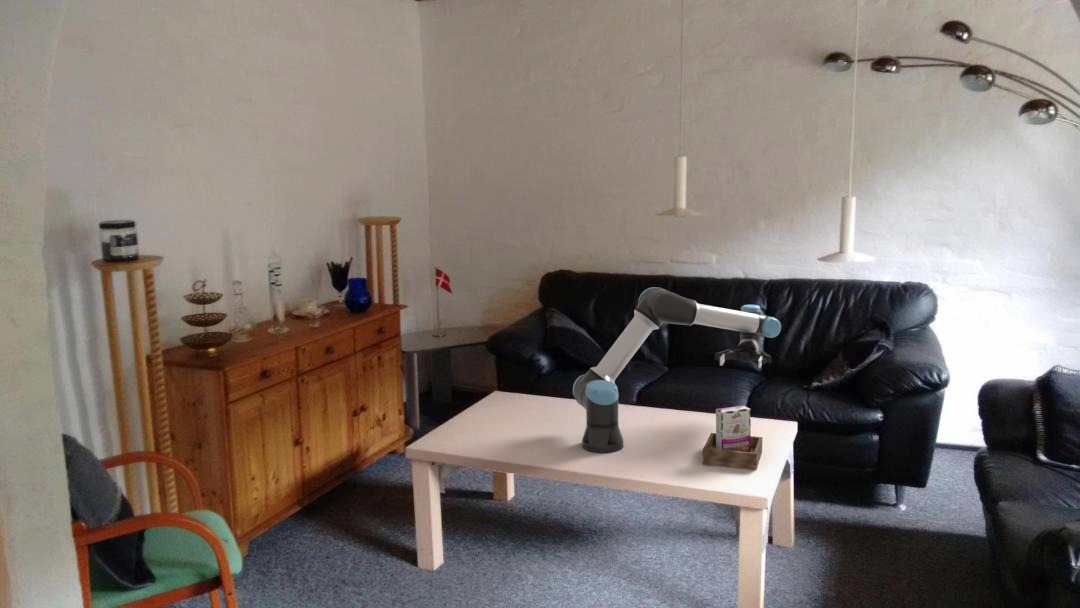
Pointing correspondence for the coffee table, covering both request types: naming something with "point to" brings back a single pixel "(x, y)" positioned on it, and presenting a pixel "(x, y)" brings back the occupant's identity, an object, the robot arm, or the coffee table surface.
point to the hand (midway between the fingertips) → (740, 363)
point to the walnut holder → (732, 454)
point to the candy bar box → (733, 429)
